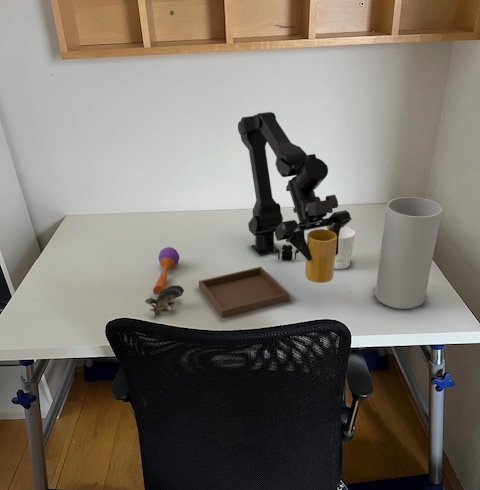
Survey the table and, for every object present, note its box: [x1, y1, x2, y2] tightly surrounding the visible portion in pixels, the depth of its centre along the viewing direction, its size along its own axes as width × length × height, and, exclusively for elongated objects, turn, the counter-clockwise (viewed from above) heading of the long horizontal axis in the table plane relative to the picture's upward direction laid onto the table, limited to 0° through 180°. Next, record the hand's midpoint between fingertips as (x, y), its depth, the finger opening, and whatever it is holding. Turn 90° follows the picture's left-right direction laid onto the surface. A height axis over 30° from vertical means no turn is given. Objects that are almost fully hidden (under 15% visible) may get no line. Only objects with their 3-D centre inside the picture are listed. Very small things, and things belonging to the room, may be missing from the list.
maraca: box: [152, 246, 180, 295], centre depth 150 cm, size 6×6×20 cm
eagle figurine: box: [144, 285, 185, 318], centre depth 136 cm, size 8×7×9 cm
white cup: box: [334, 226, 356, 270], centre depth 154 cm, size 8×8×10 cm
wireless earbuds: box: [274, 244, 300, 262], centre depth 158 cm, size 7×2×5 cm, turn 86°
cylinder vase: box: [374, 196, 443, 310], centre depth 133 cm, size 12×12×25 cm
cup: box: [304, 228, 337, 284], centre depth 132 cm, size 7×7×11 cm
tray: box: [198, 266, 290, 319], centre depth 141 cm, size 17×19×3 cm
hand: (323, 257), depth 131 cm, fingers closed on cup, 7 cm apart
